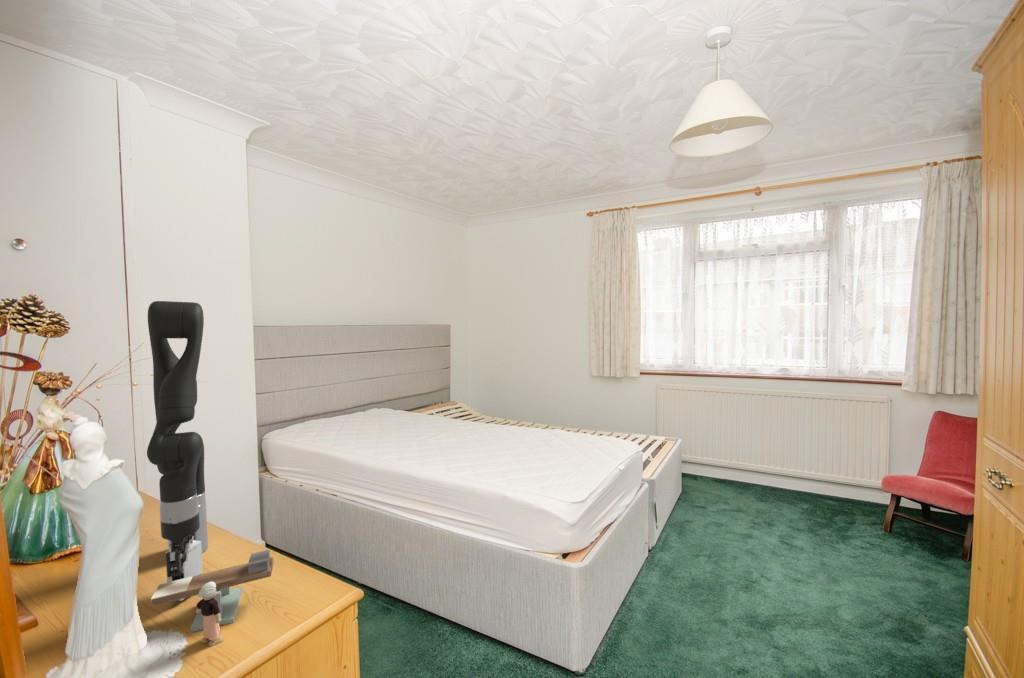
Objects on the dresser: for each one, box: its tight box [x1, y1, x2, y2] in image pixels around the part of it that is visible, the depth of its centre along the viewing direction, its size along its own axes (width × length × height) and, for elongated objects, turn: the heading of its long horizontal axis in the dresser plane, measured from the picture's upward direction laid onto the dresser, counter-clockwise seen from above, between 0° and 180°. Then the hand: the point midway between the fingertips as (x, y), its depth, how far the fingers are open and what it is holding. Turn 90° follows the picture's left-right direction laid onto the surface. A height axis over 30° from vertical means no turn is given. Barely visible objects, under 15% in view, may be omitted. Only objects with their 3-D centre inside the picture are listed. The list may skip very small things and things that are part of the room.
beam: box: [150, 549, 275, 607], centre depth 104 cm, size 7×23×5 cm, turn 112°
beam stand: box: [190, 586, 244, 633], centre depth 105 cm, size 12×8×7 cm, turn 22°
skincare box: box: [165, 540, 203, 602], centre depth 109 cm, size 6×4×12 cm
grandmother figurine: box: [195, 582, 225, 647], centre depth 95 cm, size 8×4×13 cm, turn 77°
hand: (183, 577), depth 109 cm, fingers closed on skincare box, 7 cm apart
